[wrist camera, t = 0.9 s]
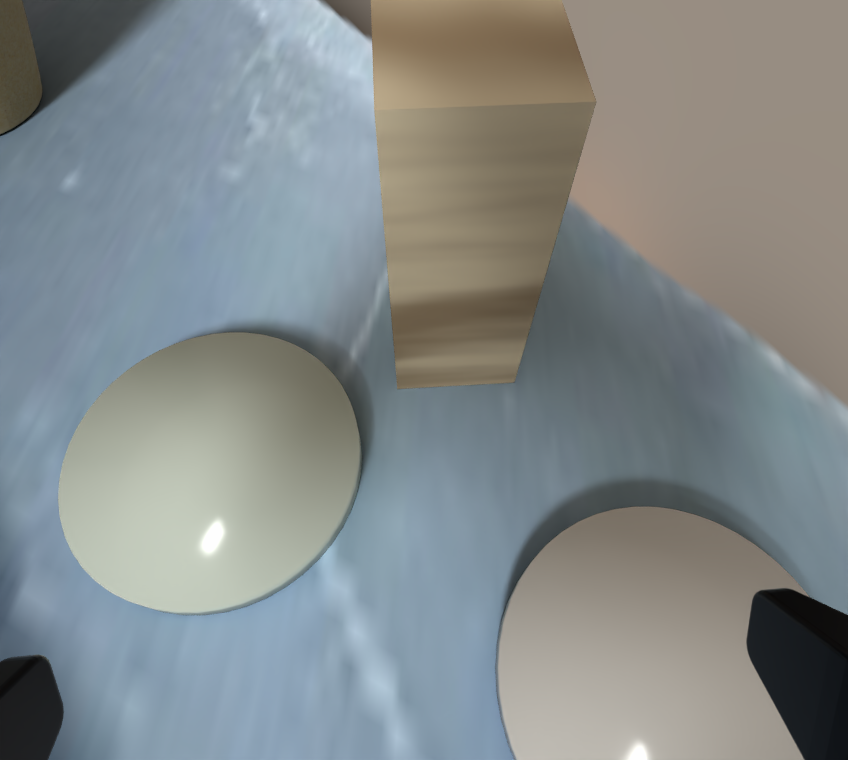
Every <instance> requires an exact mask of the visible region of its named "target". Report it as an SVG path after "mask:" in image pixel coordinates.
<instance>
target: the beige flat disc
mask: <svg viewBox="0 0 848 760" xmlns="http://www.w3.org/2000/svg"><path fill="white" fill-rule="evenodd" d="M777 588H789V589H793V590H795V591H797V592H799V593H801V594H804V595H806V596H808V594H807V593H806V592H805V591H804V590H803V589H802V588H801V586H800V585H799V584H798V583H797V582H796V581H795V579H794V578H793V577H792V576H791V575H790V574H789V573H788V572H787V571H786V570H784V569H783V568H782V567H781V566H780V565H779V564H778V563H777V562H776V561H775V560H774V559H773V558H771V557H770V556H769V555H768V554H766V553H765V552H764V551H762V550H761V549H760V548H759V547H757V546H756V545H755V544H753V543H752V542H750V541H748V540H747V539H745V538H744V537H742V536H741V535H739V534H737V533H736V532H734V531H732V530H730V529H728V528H726V527H724V526H722V525H720V524H718V523H716V522H713V521H711V520H708V519H705V518H703V517H700V516H697V515H695V514H691V513H687V512H683V511H679V510H675V509H668V508H660V507H627V508H619V509H613V510H609V511H606V512H602V513H598V514H595V515H593V516H590V517H588V518H586V519H583V520H581V521H579V522H577V523H575V524H574V525H572V526H570V527H569V528H567V529H566V530H564V531H562V532H561V533H560V534H559V535H557V536H556V537H555V538H554V539H553V540H551V541H550V542H549V543H548V544H547V545H546V546H545V547H544V548H543V549H542V550H541V551H540V553H539V554H538V555H537V556H536V557H535V558H534V559H533V561H532V562H531V563H530V564H529V566H528V567H527V568H526V570H525V571H524V573H523V574H522V576H521V577H520V579H519V580H518V582H517V583H516V586H515V588H514V590H513V592H512V594H511V596H510V598H509V600H508V602H507V605H506V609H505V612H504V615H503V618H502V621H501V625H500V630H499V636H498V641H497V649H496V665H495V673H496V692H497V699H498V705H499V711H500V717H501V721H502V725H503V728H504V732H505V735H506V739H507V742H508V746H509V748H510V751H511V753H512V756H513V758H514V760H804V759H803V757H802V755H801V753H800V751H799V749H798V748H797V746H796V744H795V742H794V740H793V738H792V737H791V735H790V733H789V731H788V729H787V727H786V725H785V724H784V722H783V720H782V718H781V716H780V714H779V712H778V711H777V709H776V707H775V705H774V703H773V701H772V700H771V698H770V696H769V694H768V692H767V690H766V688H765V687H764V685H763V683H762V681H761V679H760V677H759V675H758V674H757V672H756V670H755V668H754V666H753V664H752V662H751V660H750V658H749V655H748V651H747V645H746V638H747V631H748V625H749V618H750V611H751V604H752V599H753V596H754V595H755V593H756V592H758V591H760V590H766V589H777ZM808 597H809V596H808Z"/></svg>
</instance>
